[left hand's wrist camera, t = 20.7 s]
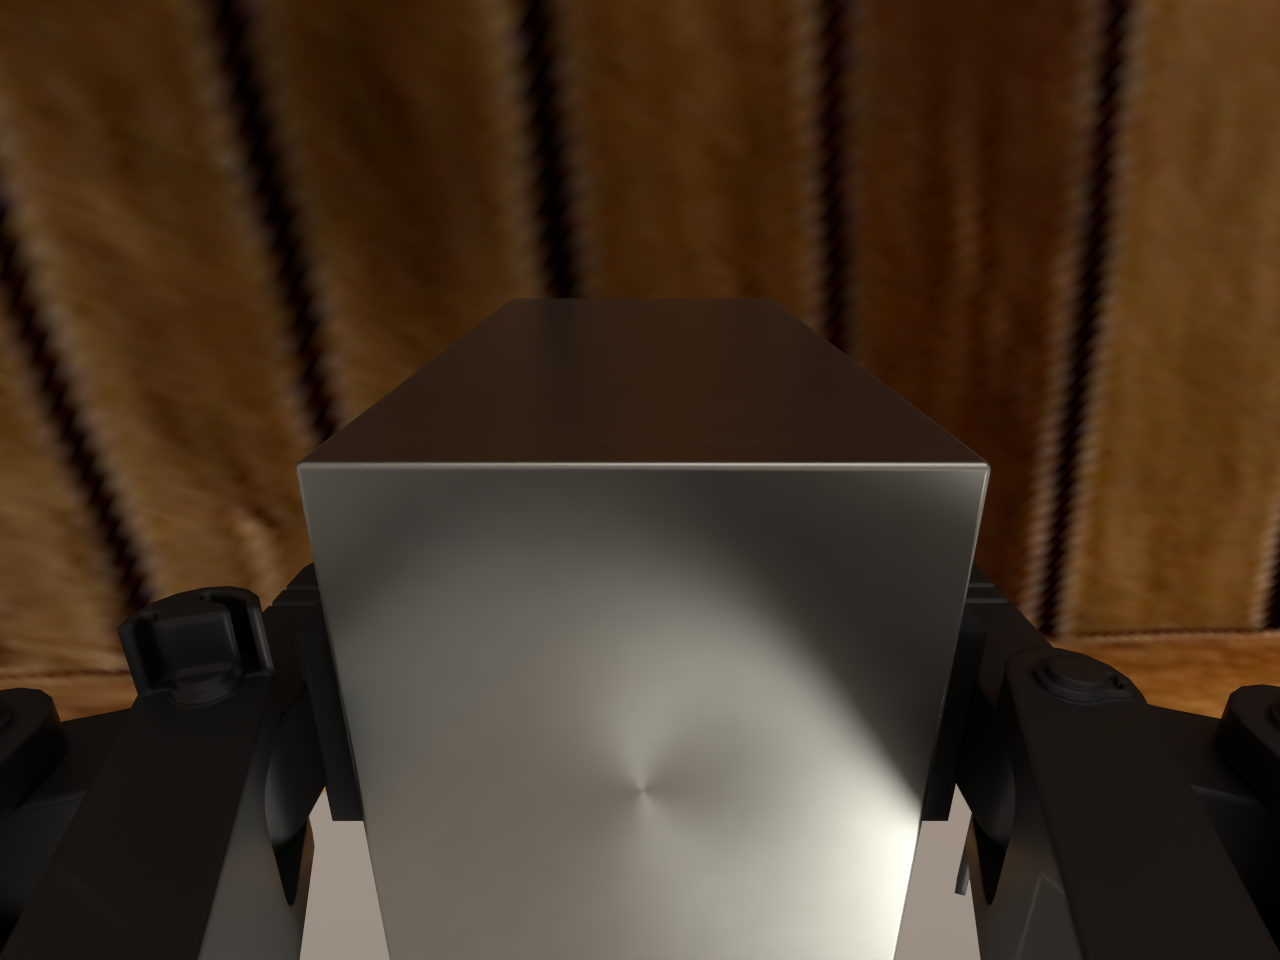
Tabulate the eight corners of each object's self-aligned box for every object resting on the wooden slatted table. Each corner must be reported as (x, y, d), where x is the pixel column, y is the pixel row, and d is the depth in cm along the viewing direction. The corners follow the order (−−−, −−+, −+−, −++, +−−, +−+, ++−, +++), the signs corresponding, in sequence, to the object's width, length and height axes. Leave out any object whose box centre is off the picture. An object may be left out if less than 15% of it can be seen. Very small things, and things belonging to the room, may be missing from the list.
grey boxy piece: (528, 577, 19) (398, 1017, 9) (510, 298, 16) (291, 463, 6) (754, 577, 19) (885, 1017, 9) (773, 298, 16) (994, 463, 6)
